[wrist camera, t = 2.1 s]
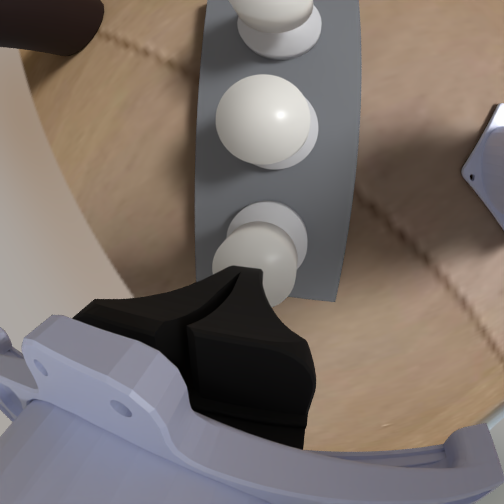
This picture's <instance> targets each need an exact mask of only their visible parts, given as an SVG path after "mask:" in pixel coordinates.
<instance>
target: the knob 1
mask: <svg viewBox="0 0 504 504" xmlns="http://www.w3.org/2000/svg"><path fill="white" fill-rule="evenodd" d="M229 2H230V3H231V5H232V7H233V8H234V10H235V11H236V13H237V15H238V16H239V18H240V19H241V21H242V22H243V23H244V24H245V25H247V26H248V27H250V28H252V29H254V30H257V31H260V32H265V33H283V32H288V31H291V30H294V29H296V28H298V27H300V26H301V25H303V24H304V23H305V22H306V21H307V20H308V19H309V17H310V16H311V14H312V11H313V0H229Z"/></svg>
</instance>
